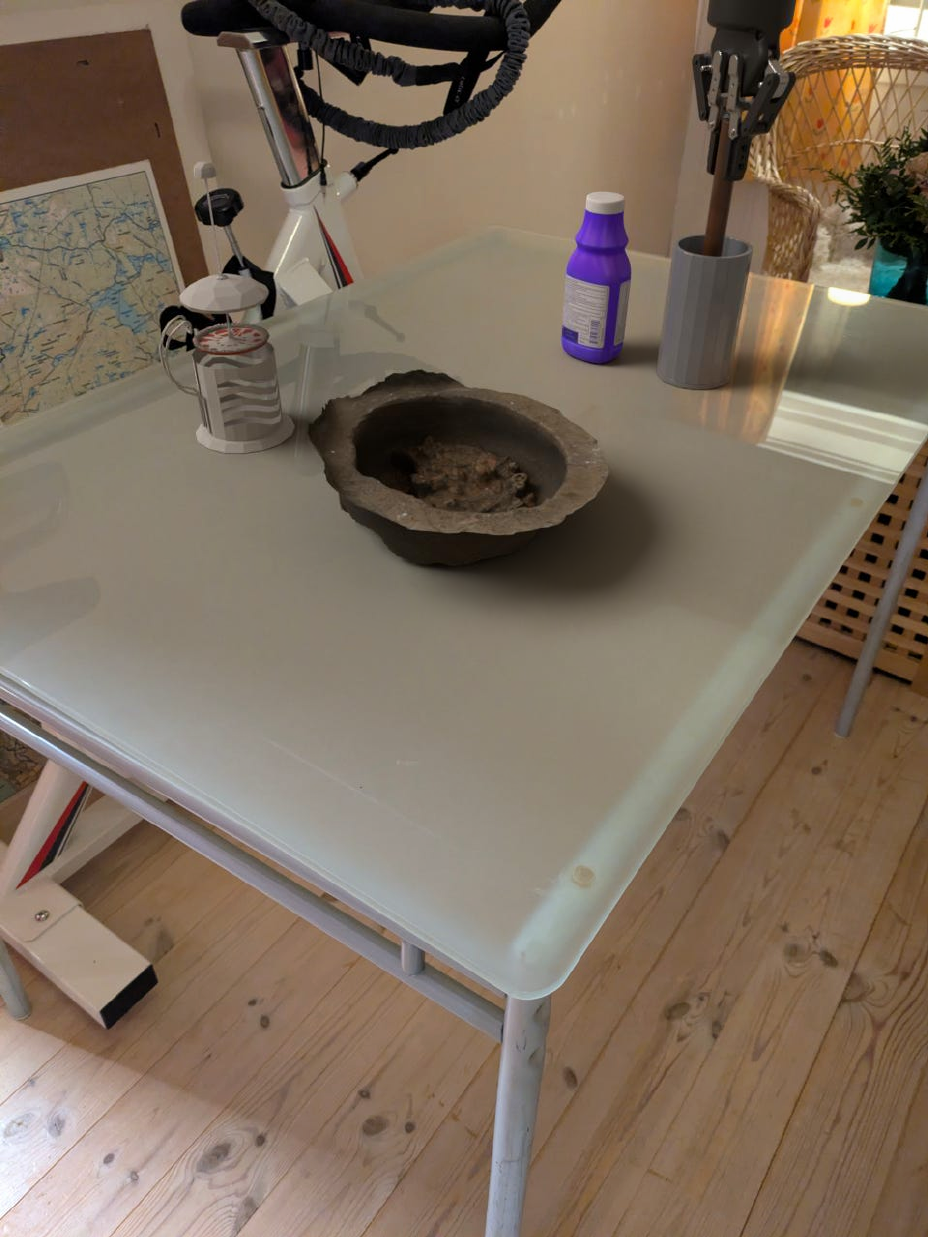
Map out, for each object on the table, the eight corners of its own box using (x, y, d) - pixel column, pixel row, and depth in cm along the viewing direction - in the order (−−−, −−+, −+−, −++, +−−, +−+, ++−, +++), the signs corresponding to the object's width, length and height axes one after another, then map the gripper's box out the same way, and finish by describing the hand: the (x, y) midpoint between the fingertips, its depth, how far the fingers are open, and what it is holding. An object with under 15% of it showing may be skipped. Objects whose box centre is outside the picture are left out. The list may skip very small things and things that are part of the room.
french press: (310, 437, 94) (280, 166, 79) (196, 467, 90) (140, 185, 74) (272, 400, 101) (238, 142, 85) (165, 426, 96) (107, 158, 81)
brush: (703, 333, 106) (739, 113, 92) (726, 347, 103) (766, 122, 89) (669, 339, 105) (700, 117, 91) (691, 354, 102) (726, 126, 88)
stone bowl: (275, 480, 87) (270, 383, 82) (517, 445, 96) (526, 356, 91) (366, 631, 69) (367, 521, 64) (652, 571, 79) (674, 470, 73)
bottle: (631, 355, 110) (649, 196, 99) (602, 370, 107) (617, 207, 96) (581, 339, 114) (593, 184, 103) (551, 353, 111) (560, 194, 100)
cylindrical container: (703, 355, 110) (724, 230, 101) (743, 382, 104) (769, 252, 96) (643, 365, 108) (659, 238, 99) (680, 394, 102) (701, 261, 93)
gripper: (846, -33, 79) (800, 190, 89) (748, -45, 89) (717, 157, 99) (770, -30, 76) (732, 198, 87) (678, -42, 86) (654, 164, 97)
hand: (724, 175), depth 93 cm, fingers closed on brush, 2 cm apart
